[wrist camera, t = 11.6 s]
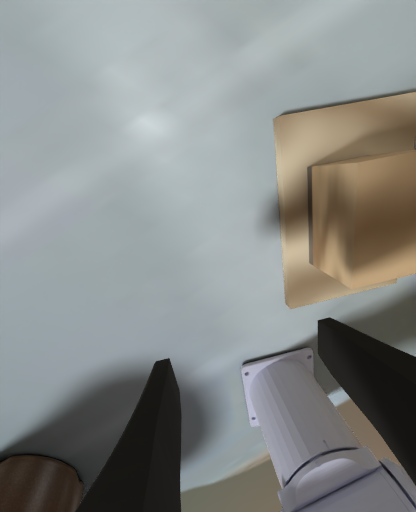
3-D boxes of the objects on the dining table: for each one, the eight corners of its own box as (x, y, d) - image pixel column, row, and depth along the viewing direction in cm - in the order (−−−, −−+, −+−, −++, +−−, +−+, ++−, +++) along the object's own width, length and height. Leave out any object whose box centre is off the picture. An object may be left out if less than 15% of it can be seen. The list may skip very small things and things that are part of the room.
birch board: (387, 278, 23) (396, 282, 22) (285, 303, 22) (290, 309, 21) (408, 95, 17) (422, 90, 16) (273, 119, 16) (279, 115, 15)
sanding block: (361, 251, 20) (418, 272, 15) (309, 263, 20) (351, 289, 15) (367, 155, 17) (439, 146, 13) (307, 167, 17) (358, 162, 12)
